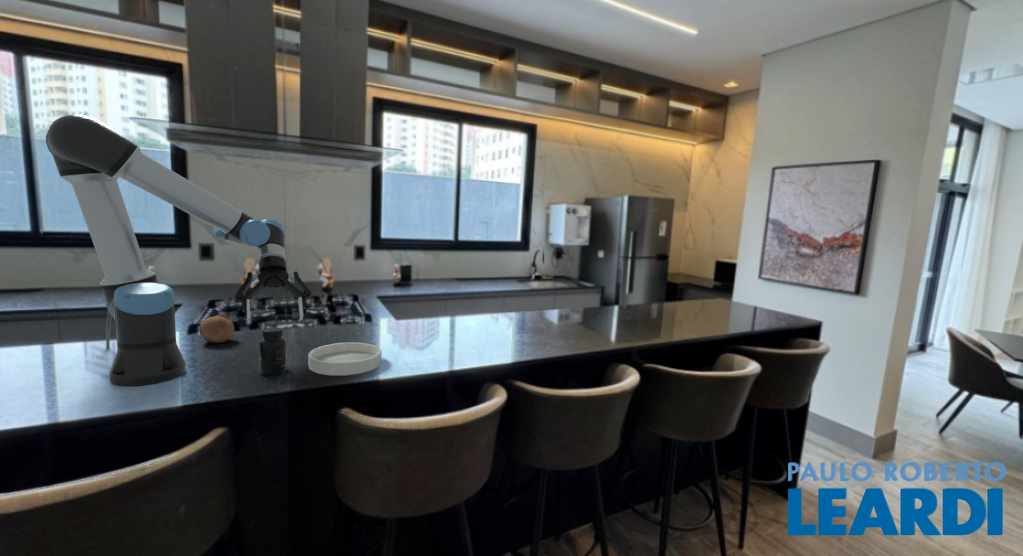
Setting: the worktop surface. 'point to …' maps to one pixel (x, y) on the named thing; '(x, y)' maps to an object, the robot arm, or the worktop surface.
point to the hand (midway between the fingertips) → (275, 319)
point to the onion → (217, 329)
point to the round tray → (344, 358)
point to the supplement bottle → (272, 352)
